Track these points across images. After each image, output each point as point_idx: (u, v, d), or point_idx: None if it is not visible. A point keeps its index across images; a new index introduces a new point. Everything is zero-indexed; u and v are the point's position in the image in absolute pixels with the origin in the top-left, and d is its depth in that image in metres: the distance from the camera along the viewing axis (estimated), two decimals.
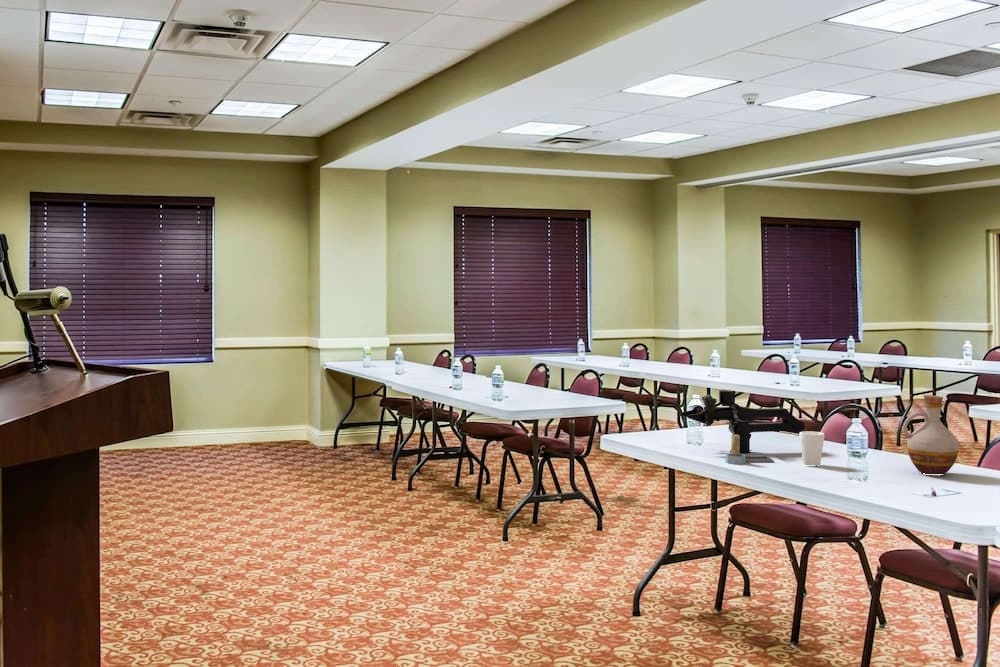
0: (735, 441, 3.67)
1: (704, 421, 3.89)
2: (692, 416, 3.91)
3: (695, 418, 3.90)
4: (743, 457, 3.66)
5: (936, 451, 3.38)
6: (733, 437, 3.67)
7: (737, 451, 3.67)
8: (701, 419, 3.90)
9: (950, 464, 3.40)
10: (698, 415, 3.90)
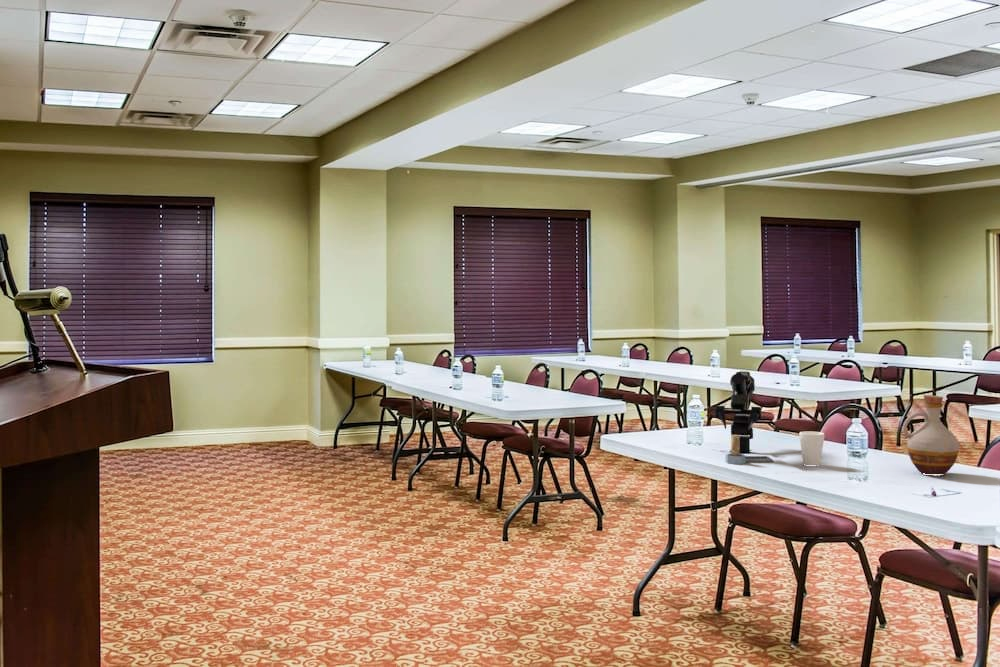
0: (735, 441, 3.67)
1: (756, 419, 3.79)
2: (750, 425, 3.75)
3: (751, 424, 3.76)
4: (743, 457, 3.66)
5: (936, 451, 3.38)
6: (733, 437, 3.67)
7: (737, 451, 3.67)
8: (753, 420, 3.78)
9: (950, 464, 3.40)
10: None
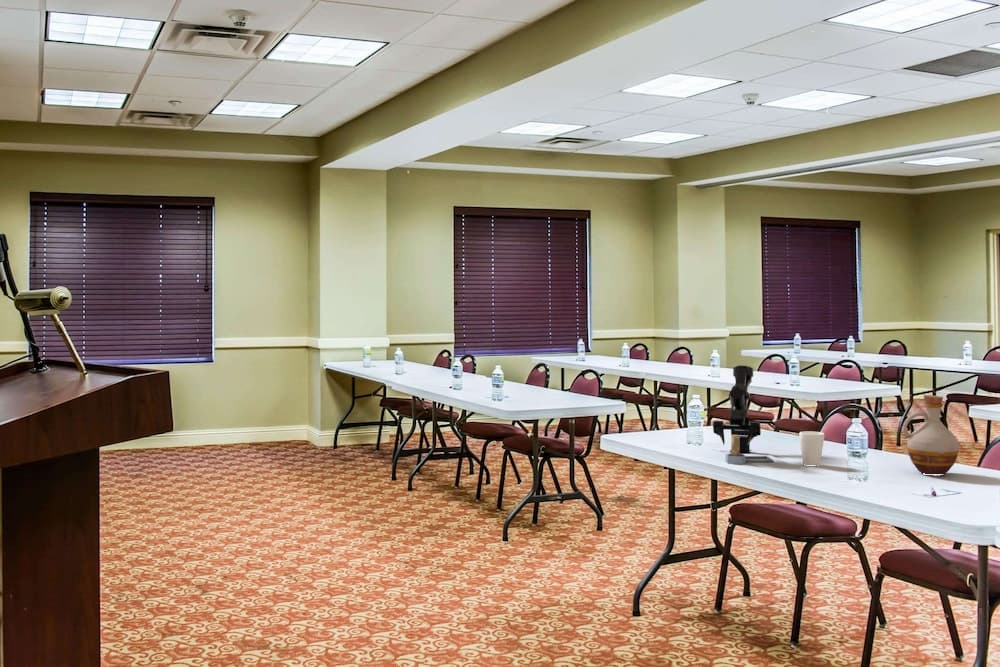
0: (735, 441, 3.67)
1: (755, 435, 3.72)
2: (749, 441, 3.68)
3: (750, 440, 3.69)
4: (743, 457, 3.66)
5: (936, 451, 3.38)
6: (733, 437, 3.67)
7: (737, 451, 3.67)
8: (751, 435, 3.71)
9: (950, 464, 3.40)
10: None
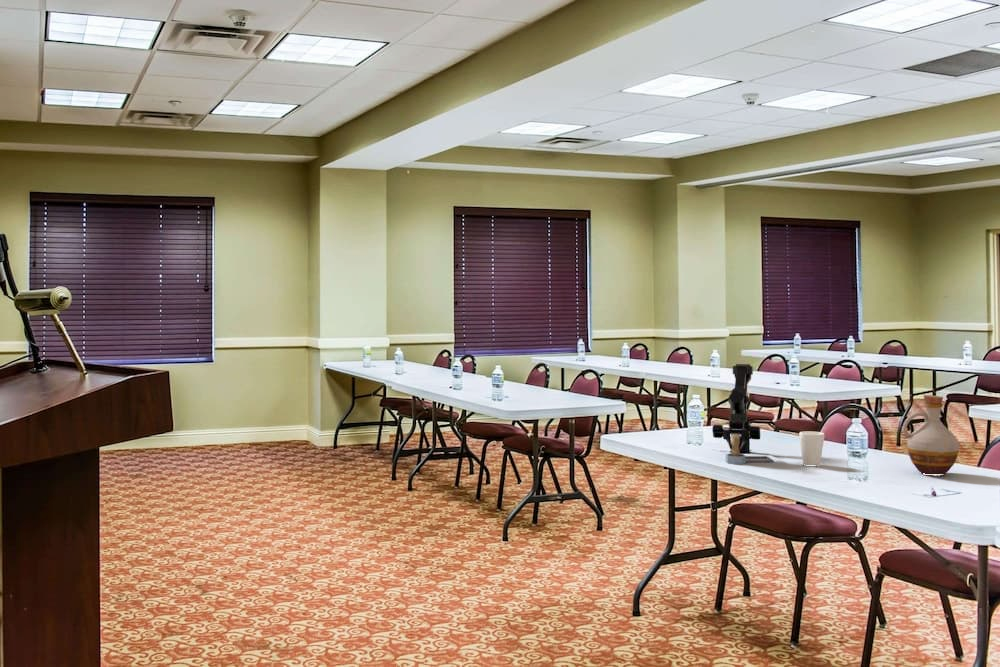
0: (735, 441, 3.67)
1: (747, 439, 3.71)
2: (741, 445, 3.67)
3: (743, 443, 3.69)
4: (743, 457, 3.66)
5: (936, 451, 3.38)
6: (733, 437, 3.67)
7: (737, 451, 3.67)
8: (744, 439, 3.70)
9: (950, 464, 3.40)
10: None
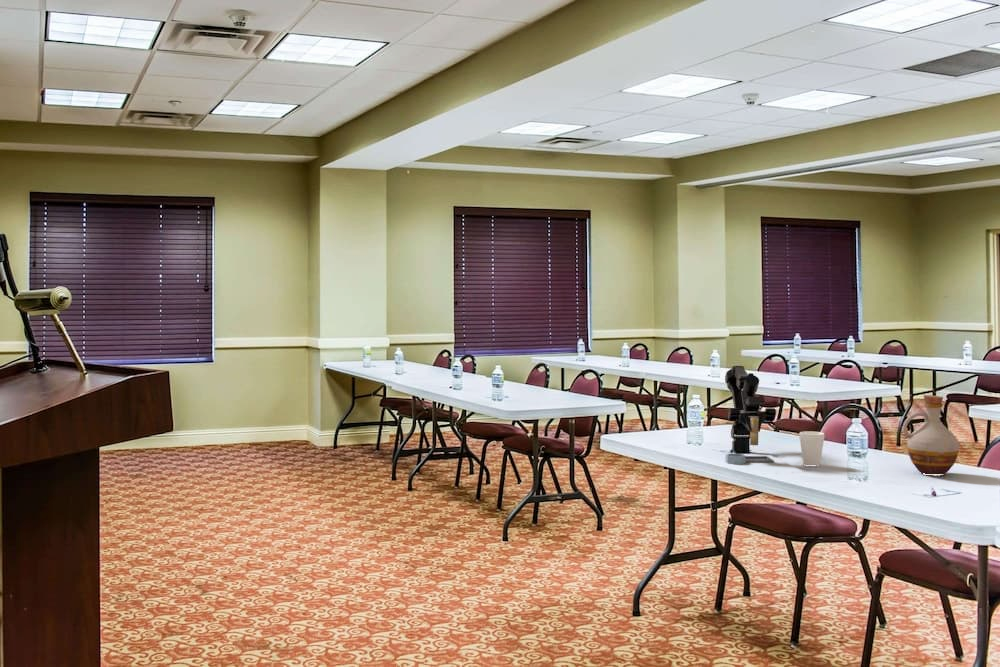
0: (755, 423, 3.70)
1: (763, 421, 3.76)
2: (760, 427, 3.72)
3: None
4: (743, 457, 3.66)
5: (936, 451, 3.38)
6: (753, 420, 3.70)
7: (757, 433, 3.71)
8: None
9: (950, 464, 3.40)
10: None
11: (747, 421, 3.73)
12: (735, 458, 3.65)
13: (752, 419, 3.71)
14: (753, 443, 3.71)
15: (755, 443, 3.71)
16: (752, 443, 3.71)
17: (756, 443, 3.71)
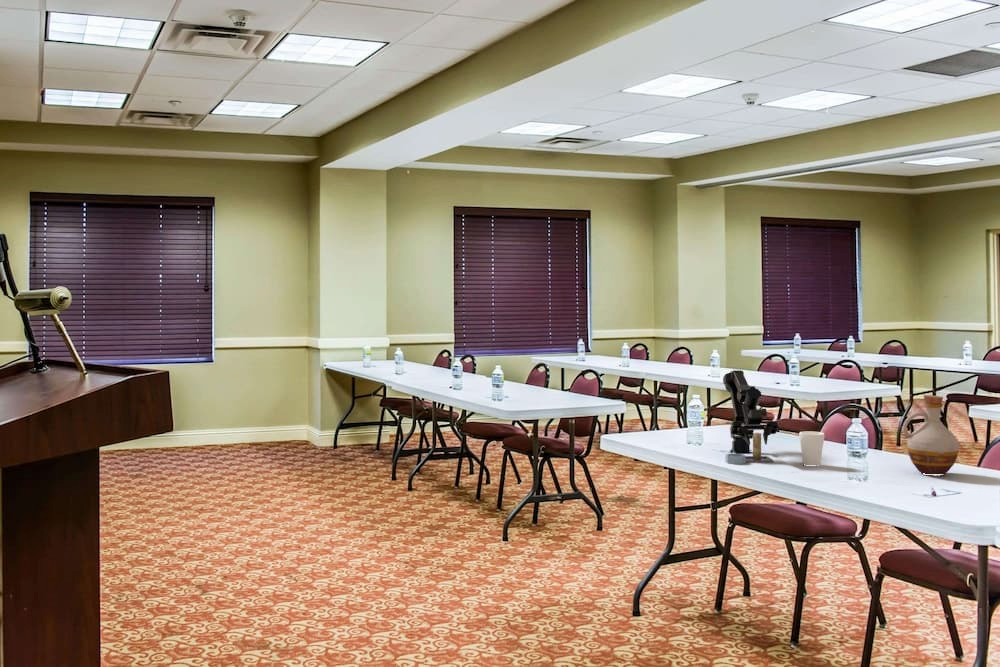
0: (758, 439, 3.71)
1: (768, 434, 3.77)
2: None
3: None
4: (743, 457, 3.66)
5: (936, 451, 3.38)
6: (756, 435, 3.71)
7: (760, 449, 3.72)
8: None
9: (950, 464, 3.40)
10: None
11: (746, 434, 3.73)
12: (735, 458, 3.65)
13: (755, 434, 3.72)
14: (756, 458, 3.72)
15: (758, 458, 3.71)
16: (755, 458, 3.72)
17: (759, 458, 3.72)
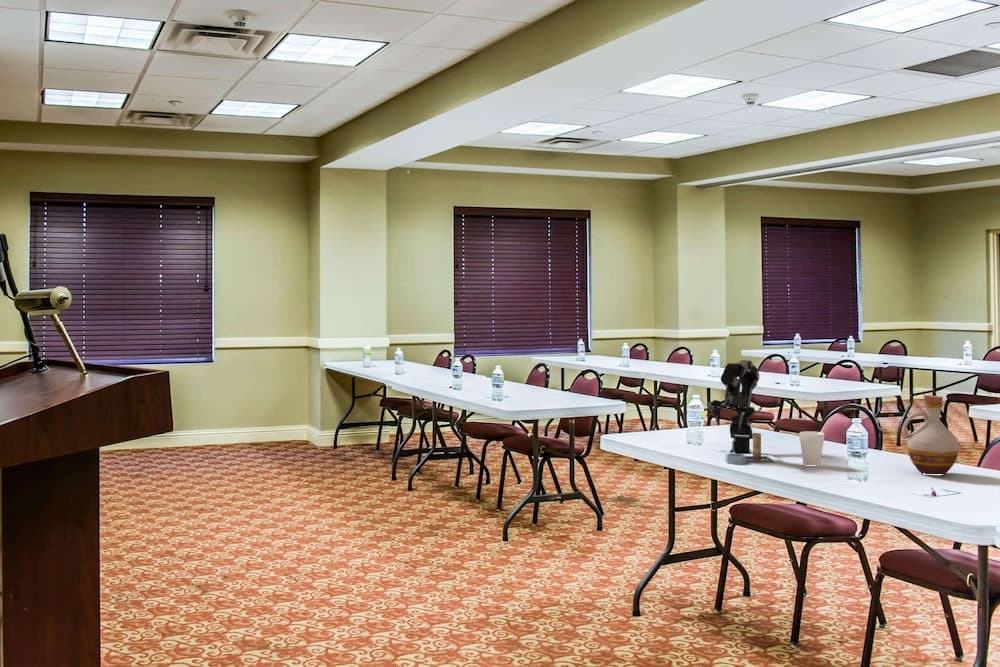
0: (758, 439, 3.71)
1: None
2: None
3: None
4: (743, 457, 3.66)
5: (936, 451, 3.38)
6: (756, 435, 3.71)
7: (760, 449, 3.72)
8: None
9: (950, 464, 3.40)
10: None
11: (718, 415, 3.80)
12: (735, 458, 3.65)
13: (755, 435, 3.71)
14: (756, 459, 3.72)
15: (758, 459, 3.71)
16: (755, 459, 3.72)
17: (759, 459, 3.72)
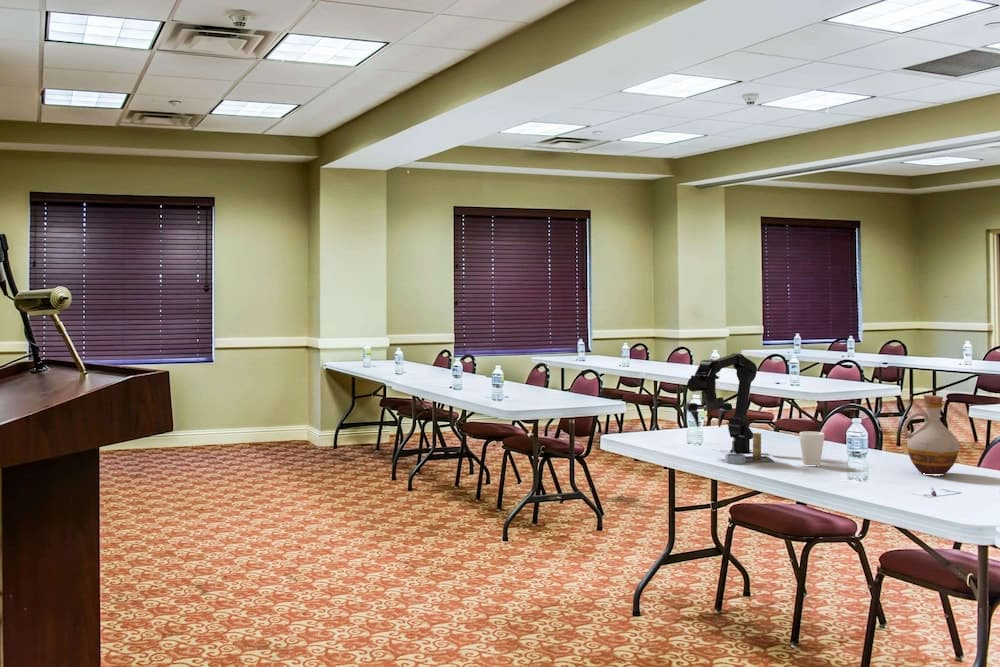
0: (758, 439, 3.71)
1: None
2: None
3: None
4: (743, 457, 3.66)
5: (936, 451, 3.38)
6: (756, 435, 3.71)
7: (760, 449, 3.72)
8: None
9: (950, 464, 3.40)
10: None
11: (696, 418, 3.84)
12: (735, 458, 3.65)
13: (755, 435, 3.71)
14: (756, 459, 3.72)
15: (758, 459, 3.71)
16: (755, 459, 3.72)
17: (759, 459, 3.72)
